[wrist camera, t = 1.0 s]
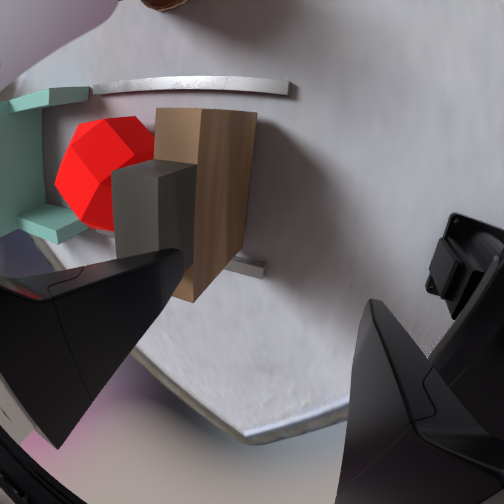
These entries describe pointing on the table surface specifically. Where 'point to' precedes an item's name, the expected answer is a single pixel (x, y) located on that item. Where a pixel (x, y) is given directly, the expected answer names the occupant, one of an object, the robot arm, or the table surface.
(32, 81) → the table surface
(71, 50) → the table surface
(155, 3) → the coffee cup
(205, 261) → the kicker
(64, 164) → the ball
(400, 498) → the robot arm
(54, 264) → the table surface
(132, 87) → the track
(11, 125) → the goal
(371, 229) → the table surface
